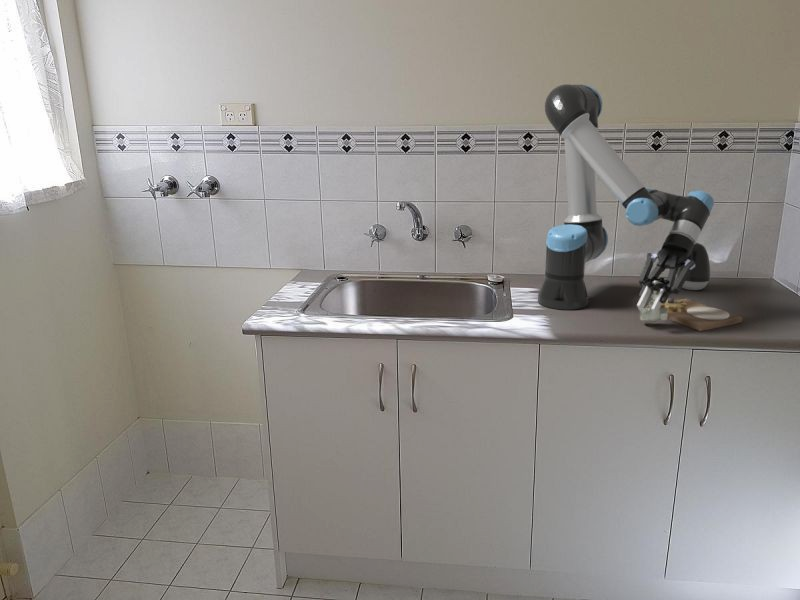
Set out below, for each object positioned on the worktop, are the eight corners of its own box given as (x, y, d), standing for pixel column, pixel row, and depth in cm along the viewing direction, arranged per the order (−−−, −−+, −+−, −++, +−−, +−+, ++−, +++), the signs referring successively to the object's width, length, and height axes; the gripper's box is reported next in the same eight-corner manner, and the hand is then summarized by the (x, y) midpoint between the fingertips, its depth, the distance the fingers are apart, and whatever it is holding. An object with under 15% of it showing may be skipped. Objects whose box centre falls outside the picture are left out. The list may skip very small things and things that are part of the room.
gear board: (645, 310, 190) (646, 296, 189) (684, 303, 196) (686, 290, 195) (700, 331, 172) (702, 316, 171) (741, 322, 179) (744, 308, 177)
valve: (668, 326, 174) (671, 285, 169) (642, 326, 175) (645, 285, 170) (663, 316, 180) (666, 276, 175) (638, 316, 181) (641, 276, 176)
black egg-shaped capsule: (708, 285, 214) (714, 241, 209) (708, 294, 205) (714, 247, 200) (675, 282, 218) (681, 238, 214) (674, 290, 209) (679, 245, 205)
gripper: (713, 253, 175) (679, 324, 169) (655, 243, 187) (621, 309, 181) (708, 237, 170) (673, 309, 164) (649, 228, 181) (614, 295, 175)
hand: (646, 309), depth 172 cm, fingers closed on valve, 3 cm apart
